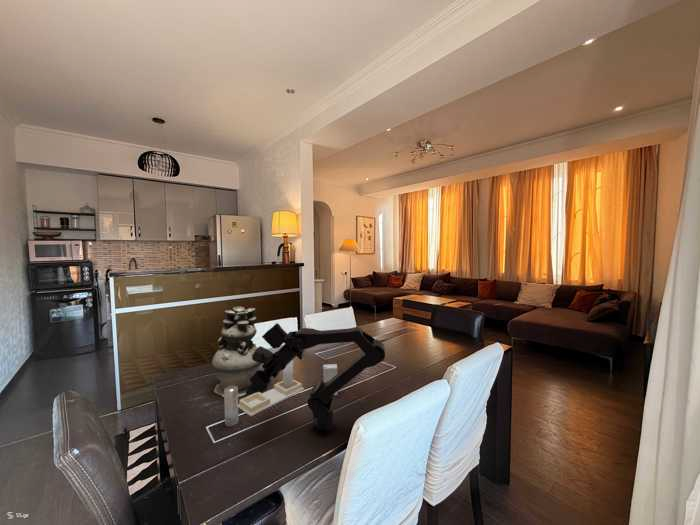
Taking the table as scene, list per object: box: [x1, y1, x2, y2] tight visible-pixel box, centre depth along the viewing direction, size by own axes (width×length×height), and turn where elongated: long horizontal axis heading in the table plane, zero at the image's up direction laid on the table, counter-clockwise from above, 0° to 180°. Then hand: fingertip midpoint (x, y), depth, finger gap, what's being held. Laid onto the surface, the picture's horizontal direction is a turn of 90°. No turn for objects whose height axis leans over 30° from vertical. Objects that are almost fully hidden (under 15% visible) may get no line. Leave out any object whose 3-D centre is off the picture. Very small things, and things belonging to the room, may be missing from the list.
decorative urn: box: [211, 306, 263, 398], centre depth 125 cm, size 21×21×35 cm
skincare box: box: [322, 363, 339, 396], centre depth 120 cm, size 6×4×12 cm
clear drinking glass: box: [223, 385, 239, 427], centre depth 100 cm, size 4×4×12 cm
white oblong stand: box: [238, 359, 305, 417], centre depth 116 cm, size 10×25×13 cm, turn 140°
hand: (252, 386), depth 99 cm, fingers open, 9 cm apart
